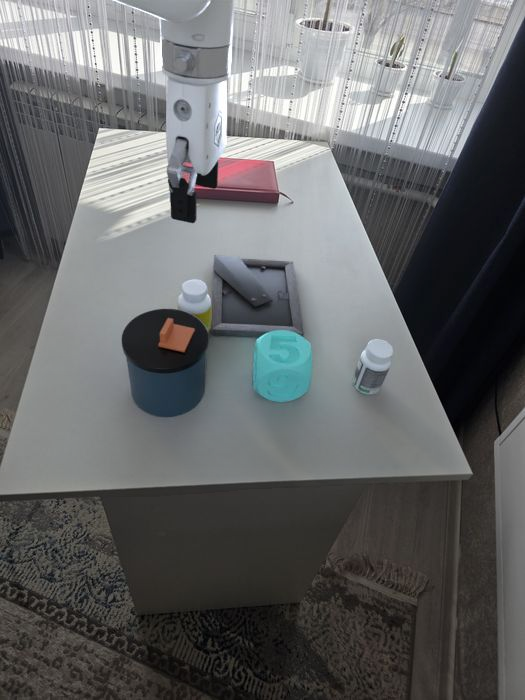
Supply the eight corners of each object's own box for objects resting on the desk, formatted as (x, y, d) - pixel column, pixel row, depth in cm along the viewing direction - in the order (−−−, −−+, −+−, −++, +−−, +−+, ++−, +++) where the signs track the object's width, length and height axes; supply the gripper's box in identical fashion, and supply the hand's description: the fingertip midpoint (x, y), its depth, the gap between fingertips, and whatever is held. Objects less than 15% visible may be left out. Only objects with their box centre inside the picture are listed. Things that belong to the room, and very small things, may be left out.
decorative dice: (300, 365, 78) (309, 330, 72) (305, 403, 72) (314, 369, 66) (252, 362, 77) (257, 327, 71) (253, 401, 71) (258, 366, 66)
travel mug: (116, 408, 68) (106, 356, 60) (146, 353, 76) (141, 300, 68) (193, 427, 67) (193, 376, 59) (215, 369, 75) (218, 318, 67)
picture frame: (213, 263, 95) (210, 335, 80) (214, 254, 93) (211, 327, 79) (291, 268, 96) (302, 340, 82) (293, 260, 95) (304, 331, 80)
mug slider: (158, 346, 62) (157, 336, 60) (169, 325, 65) (169, 314, 64) (184, 352, 62) (184, 342, 60) (194, 330, 65) (194, 320, 63)
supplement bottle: (215, 326, 82) (217, 282, 75) (202, 347, 78) (203, 302, 71) (186, 317, 83) (186, 272, 76) (172, 337, 79) (170, 292, 72)
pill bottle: (386, 389, 76) (403, 354, 70) (363, 399, 74) (378, 363, 68) (368, 369, 79) (383, 333, 73) (345, 378, 77) (359, 342, 71)
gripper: (206, 88, 45) (203, 241, 57) (247, 45, 57) (237, 180, 69) (131, 73, 45) (144, 229, 57) (188, 34, 57) (188, 170, 69)
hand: (195, 202), depth 63 cm, fingers open, 9 cm apart
